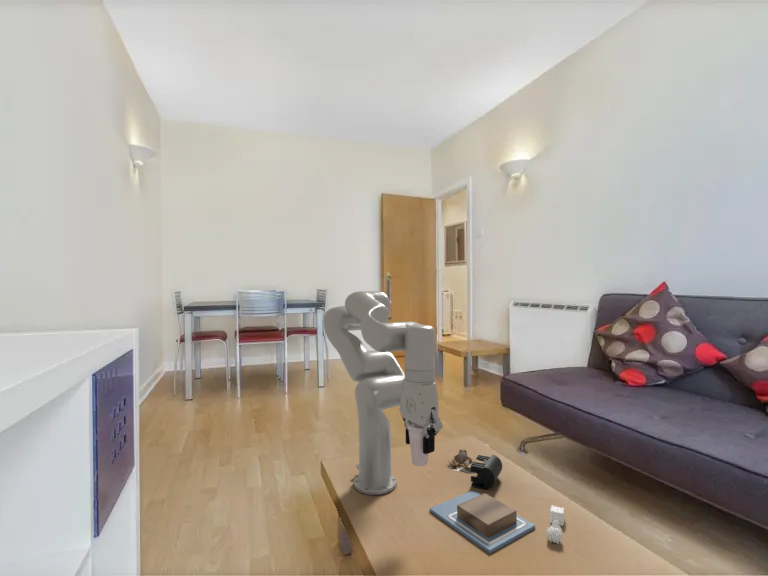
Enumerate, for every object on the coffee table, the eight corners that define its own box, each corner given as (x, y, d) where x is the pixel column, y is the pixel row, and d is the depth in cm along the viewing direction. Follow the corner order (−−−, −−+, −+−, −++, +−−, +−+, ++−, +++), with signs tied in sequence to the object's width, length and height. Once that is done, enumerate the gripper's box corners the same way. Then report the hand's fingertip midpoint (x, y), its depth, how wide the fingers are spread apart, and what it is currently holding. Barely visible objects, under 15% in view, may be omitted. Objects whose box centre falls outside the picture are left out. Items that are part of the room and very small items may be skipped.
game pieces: (550, 517, 99) (550, 504, 99) (565, 521, 97) (564, 508, 97) (545, 544, 88) (545, 529, 88) (561, 548, 86) (561, 533, 87)
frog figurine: (445, 457, 136) (445, 446, 136) (481, 460, 133) (481, 449, 133) (441, 471, 125) (441, 459, 125) (480, 476, 121) (480, 463, 122)
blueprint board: (429, 511, 101) (429, 507, 101) (473, 493, 110) (473, 489, 110) (489, 553, 85) (489, 549, 85) (535, 528, 94) (535, 524, 94)
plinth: (457, 517, 97) (457, 505, 97) (484, 504, 103) (484, 493, 103) (488, 538, 89) (488, 524, 89) (516, 523, 94) (516, 510, 94)
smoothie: (431, 470, 93) (431, 411, 93) (405, 467, 94) (405, 409, 94) (433, 458, 99) (433, 403, 99) (408, 456, 101) (408, 401, 100)
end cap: (495, 493, 110) (494, 469, 110) (470, 487, 114) (470, 464, 114) (502, 478, 119) (502, 455, 119) (479, 473, 122) (479, 451, 122)
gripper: (387, 370, 102) (387, 439, 102) (431, 384, 87) (431, 464, 87) (410, 367, 106) (410, 433, 106) (455, 380, 91) (455, 456, 92)
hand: (419, 446), depth 97 cm, fingers closed on smoothie, 6 cm apart
